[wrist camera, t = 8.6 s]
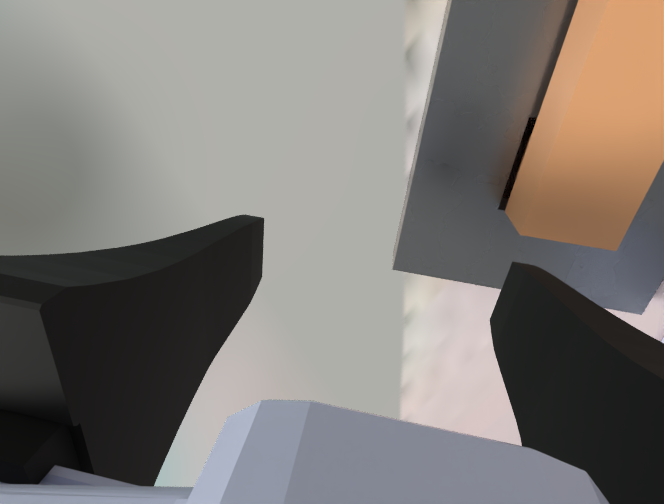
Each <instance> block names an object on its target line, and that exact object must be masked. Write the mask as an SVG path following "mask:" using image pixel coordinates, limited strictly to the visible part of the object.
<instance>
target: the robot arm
mask: <svg viewBox="0 0 664 504" xmlns="http://www.w3.org/2000/svg"><path fill="white" fill-rule="evenodd" d="M263 236H264V218H261V217H255V216H249V215H239V216H235V217H231V218H228V219H225V220H222V221H219V222H216V223H213V224H209V225H206V226H204V227H200V228H197V229H194V230H191V231H188V232H184V233H180V234H177V235H173V236H170V237H167V238H163V239H159V240H155V241H150V242H146V243H141V244H136V245H131V246H125V247H119V248H111V249H104V250H96V251H88V252H79V253H66V254H50V255H24V256H0V504H664V338H663V339H662V341H661V342H660V341H658V340H656V339H654V338H652V337H651V336H649V335H647V334H645V333H643V332H642V331H640V330H638V329H636V328H635V327H633V326H631V325H630V324H628V323H626V322H625V321H623V320H621V319H620V318H618V317H616V316H615V315H613V314H612V313H610V312H608V311H607V310H605V309H604V308H602V307H601V306H599V305H597V304H596V303H594V302H593V301H591V300H590V299H588V298H587V297H585V296H584V295H582V294H581V293H579V292H578V291H576V290H575V289H573V288H572V287H570V286H569V285H567V284H566V283H564V282H563V281H561V280H560V279H558V278H557V277H555V276H554V275H552V274H550V273H549V272H547V271H545V270H543V269H542V268H540V267H537V266H535V265H530V264H524V263H518V262H513V261H512V264H511V266H510V269H509V271H508V274H507V277H506V279H505V282H504V284H503V287H502V290H501V292H500V295H499V297H498V300H497V303H496V305H495V308H494V310H493V313H492V316H491V318H490V325H491V333H492V340H493V346H494V351H495V355H496V358H497V361H498V365H499V368H500V371H501V374H502V378H503V381H504V384H505V387H506V390H507V393H508V396H509V400H510V403H511V406H512V409H513V412H514V415H515V418H516V422H517V426H518V430H519V433H520V437H521V443H522V446H518V445H514V444H509V443H505V442H500V441H495V440H491V439H486V438H482V437H477V436H472V435H468V434H463V433H458V432H454V431H449V430H445V429H440V428H435V427H431V426H426V425H422V424H417V423H412V422H408V421H403V420H398V419H394V418H389V417H384V416H380V415H375V414H370V413H366V412H361V411H357V410H352V409H348V408H343V407H338V406H333V405H329V404H324V403H320V402H315V401H302V400H301V401H300V400H298V401H297V400H262V401H260V402H257V403H256V404H254V405H251V406H249V407H247V408H245V409H243V410H241V411H239V412H237V413H235V414H233V415H231V416H229V417H228V418H227V420H226V422H225V424H224V426H223V428H222V430H221V432H220V435H219V436H218V438H217V441H216V443H215V445H214V447H213V449H212V451H211V453H210V455H209V457H208V459H207V461H206V463H205V465H204V467H203V470H202V472H201V474H200V476H199V478H198V480H197V482H196V484H195V486H194V487H153V486H154V484H155V481H156V479H157V477H158V474H159V472H160V469H161V467H162V465H163V463H164V461H165V458H166V456H167V454H168V452H169V449H170V447H171V445H172V443H173V440H174V438H175V436H176V434H177V431H178V429H179V427H180V425H181V423H182V421H183V419H184V417H185V414H186V412H187V410H188V408H189V406H190V404H191V402H192V399H193V398H194V395H195V393H196V392H197V390H198V387H199V386H200V384H201V382H202V380H203V378H204V376H205V374H206V371H207V370H208V368H209V366H210V365H211V363H212V361H213V359H214V358H215V356H216V355H217V353H218V351H219V350H220V348H221V347H222V345H223V344H224V342H225V341H226V339H227V338H228V336H229V335H230V333H231V332H232V330H233V329H234V327H235V325H236V324H237V323H238V321H239V319H240V318H241V316H242V315H243V313H244V312H245V310H246V309H247V307H248V305H249V304H250V302H251V300H252V298H253V296H254V294H255V292H256V290H257V287H258V285H259V282H260V280H261V278H262V263H263Z"/></svg>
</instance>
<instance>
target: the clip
mask: <svg viewBox="0 0 664 504" xmlns="http://www.w3.org/2000/svg"><path fill="white" fill-rule="evenodd" d="M663 161H664V0H578V3H577V6H576V9H575V12H574V14H573V17H572V20H571V23H570V26H569V29H568V32H567V35H566V37H565V40H564V43H563V46H562V49H561V52H560V55H559V57H558V60H557V63H556V66H555V69H554V72H553V75H552V77H551V80H550V83H549V86H548V89H547V92H546V95H545V98H544V100H543V103H542V106H541V109H540V112H539V115H538V118H537V120H536V123H535V126H534V129H533V132H532V134H530V136H529V139H528V141H527V144H526V147H525V150H524V153H523V156H522V159H521V162H520V165H519V167H518V170H517V173H516V176H515V177H516V181H515V183H514V186H513V189H512V192H511V195H510V198H509V201H508V203H507V206H506V209H505V213H506V214H507V216H508V217H509V219H510V221H511V222H512V224H513V225H514V227H515V228H516V230H517V231H518V233H519V234H520V235H523V236H529V237H535V238H541V239H547V240H553V241H559V242H565V243H571V244H577V245H583V246H589V247H595V248H600V249H606V250H612V251H617V249H618V247H619V245H620V243H621V241H622V239H623V237H624V236H625V234H626V232H627V230H628V228H629V226H630V224H631V222H632V220H633V218H634V216H635V214H636V213H637V211H638V209H639V207H640V205H641V203H642V201H643V199H644V197H645V195H646V193H647V191H648V190H649V188H650V186H651V184H652V182H653V180H654V178H655V176H656V174H657V172H658V170H659V168H660V167H661V165H662V163H663Z"/></svg>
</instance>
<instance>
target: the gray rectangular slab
mask: <svg viewBox="0 0 664 504" xmlns="http://www.w3.org/2000/svg"><path fill="white" fill-rule="evenodd" d="M577 3H578V0H448V1H447V6H446V11H445V15H444V20H443V25H442V29H441V34H440V39H439V43H438V48H437V52H436V57H435V62H434V66H433V71H432V76H431V80H430V85H429V90H428V94H427V99H426V103H425V108H424V113H423V117H422V122H421V127H420V131H419V136H418V141H417V145H416V150H415V155H414V159H413V164H412V168H411V173H410V178H409V182H408V187H407V192H406V196H405V201H404V206H403V210H402V215H401V219H400V224H399V229H398V234H397V238H396V243H395V247H394V253H393V270H398V271H404V272H409V273H415V274H420V275H426V276H431V277H437V278H442V279H448V280H453V281H459V282H464V283H470V284H475V285H481V286H486V287H492V288H497V289H502V287H503V284H504V282H505V279H506V277H507V274H508V271H509V269H510V266H511V264H512V261H513V262H518V263H524V264H530V265H535V266H537V267H540V268H542V269H543V270H545V271H547V272H549V273H550V274H552V275H554V276H555V277H557V278H558V279H560V280H561V281H563V282H564V283H566V284H567V285H569V286H570V287H572V288H573V289H575V290H576V291H578V292H579V293H581V294H582V295H584V296H585V297H587V298H588V299H590V300H591V301H593V302H594V303H596V304H597V305H599V306H601V307H602V308H607V309H613V310H618V311H624V312H629V313H635V314H640V315H642V313H643V312H644V310H645V308H646V307H647V305H648V304H649V302H650V300H651V299H652V297H653V295H654V294H655V292H656V290H657V289H658V287H659V286H660V284H661V282H662V281H663V279H664V161H663V163H662V165H661V167H660V168H659V170H658V172H657V174H656V176H655V178H654V180H653V182H652V184H651V186H650V188H649V190H648V191H647V193H646V195H645V197H644V199H643V201H642V203H641V205H640V207H639V209H638V211H637V213H636V214H635V216H634V218H633V220H632V222H631V224H630V226H629V228H628V230H627V232H626V234H625V236H624V237H623V239H622V241H621V243H620V245H619V247H618V249H617V251H612V250H606V249H600V248H595V247H589V246H583V245H577V244H571V243H565V242H559V241H553V240H547V239H541V238H535V237H529V236H523V235H520V234H519V233H518V231H517V230H516V228H515V227H514V225H513V224H512V222H511V221H510V219H509V217H508V216H507V214H506V213H505V209H506V206H507V203H508V201H509V198H503V197H502V196H503V193H504V190H505V187H506V184H507V181H508V178H509V175H510V172H511V169H512V166H513V163H514V160H515V157H516V154H517V152H518V149H519V146H520V143H521V140H522V137H523V134H524V131H525V128H526V125H527V122H528V119H529V117H534V118H538V115H539V112H540V109H541V106H542V103H543V100H544V98H545V95H546V92H547V89H548V86H549V83H550V80H551V77H552V75H553V72H554V69H555V66H556V63H557V60H558V57H559V55H560V52H561V49H562V46H563V43H564V40H565V37H566V35H567V32H568V29H569V26H570V23H571V20H572V17H573V14H574V12H575V9H576V6H577Z"/></svg>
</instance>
